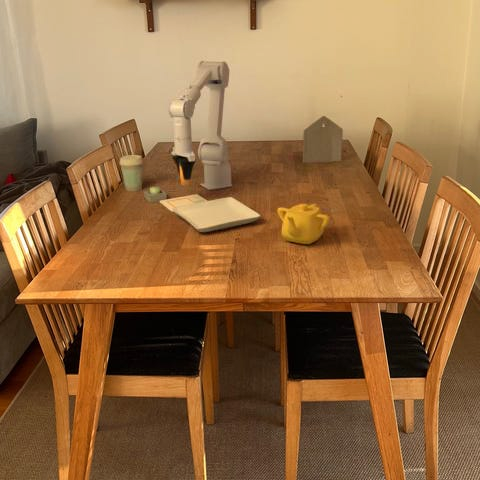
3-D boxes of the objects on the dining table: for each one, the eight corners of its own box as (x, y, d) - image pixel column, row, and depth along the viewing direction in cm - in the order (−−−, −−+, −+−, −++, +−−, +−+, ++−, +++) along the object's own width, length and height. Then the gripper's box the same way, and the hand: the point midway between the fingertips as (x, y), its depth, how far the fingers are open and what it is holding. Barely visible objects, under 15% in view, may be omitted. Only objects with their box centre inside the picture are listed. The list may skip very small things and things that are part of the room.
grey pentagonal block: (337, 157, 249) (339, 111, 242) (341, 161, 241) (343, 115, 234) (299, 158, 248) (300, 113, 241) (303, 163, 241) (304, 116, 233)
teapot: (332, 247, 157) (334, 211, 153) (286, 251, 155) (287, 215, 152) (317, 229, 170) (318, 196, 166) (275, 233, 168) (275, 199, 164)
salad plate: (198, 238, 166) (198, 227, 165) (171, 217, 183) (171, 207, 182) (262, 225, 175) (262, 214, 173) (231, 206, 192) (230, 196, 191)
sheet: (197, 195, 202) (197, 193, 202) (211, 204, 193) (211, 203, 192) (159, 202, 197) (159, 200, 196) (172, 212, 187) (172, 210, 186)
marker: (187, 182, 194) (186, 160, 191) (191, 184, 192) (190, 162, 189) (179, 183, 193) (177, 162, 190) (182, 185, 190) (181, 164, 187)
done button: (158, 194, 202) (157, 185, 200) (161, 196, 199) (161, 188, 198) (149, 195, 200) (148, 187, 199) (152, 198, 197) (151, 189, 196)
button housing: (160, 195, 204) (160, 188, 203) (166, 199, 199) (166, 192, 198) (144, 198, 201) (144, 191, 200) (150, 202, 196) (149, 195, 195)
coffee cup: (140, 193, 206) (137, 160, 202) (118, 192, 208) (115, 159, 203) (149, 186, 214) (146, 154, 209) (127, 185, 216) (124, 154, 211)
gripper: (163, 135, 191) (166, 174, 196) (179, 143, 179) (182, 185, 184) (183, 132, 194) (185, 171, 199) (200, 140, 182) (202, 181, 187)
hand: (185, 178), depth 191 cm, fingers closed on marker, 3 cm apart
